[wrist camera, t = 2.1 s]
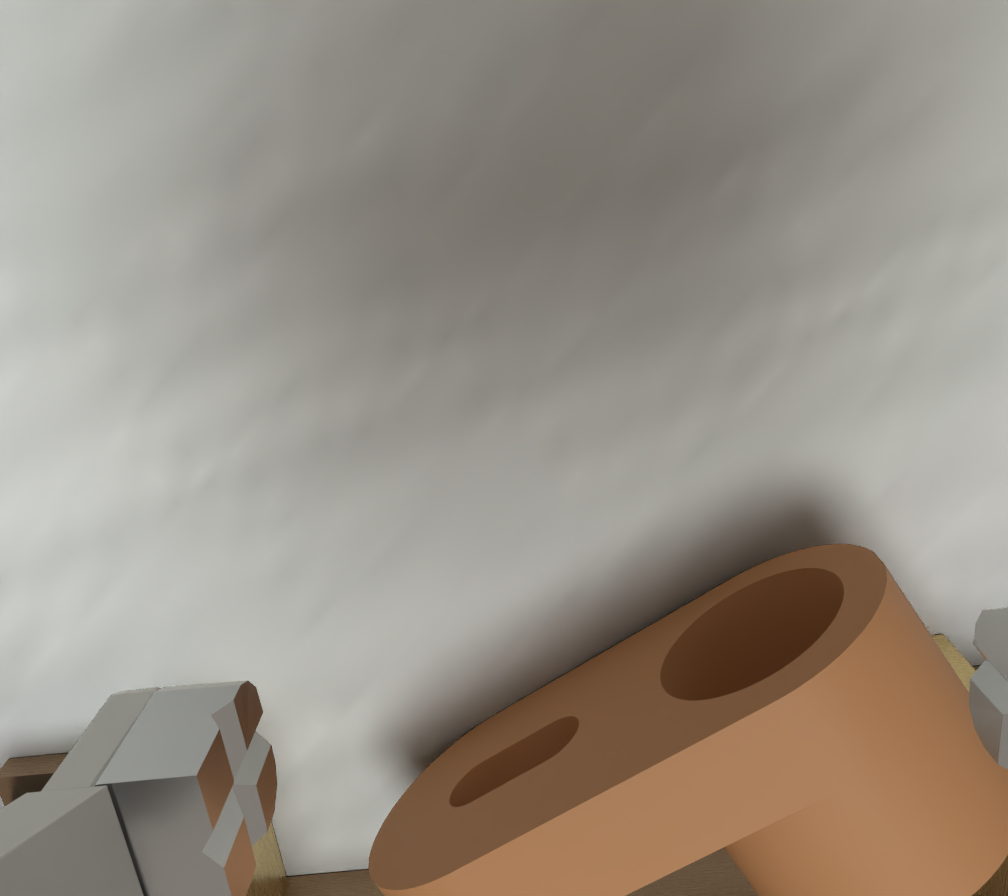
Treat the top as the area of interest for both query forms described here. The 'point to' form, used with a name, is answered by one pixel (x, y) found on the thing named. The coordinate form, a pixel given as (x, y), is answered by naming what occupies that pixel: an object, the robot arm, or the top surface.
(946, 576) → the top surface
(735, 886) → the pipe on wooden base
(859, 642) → the tan piece
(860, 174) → the top surface
